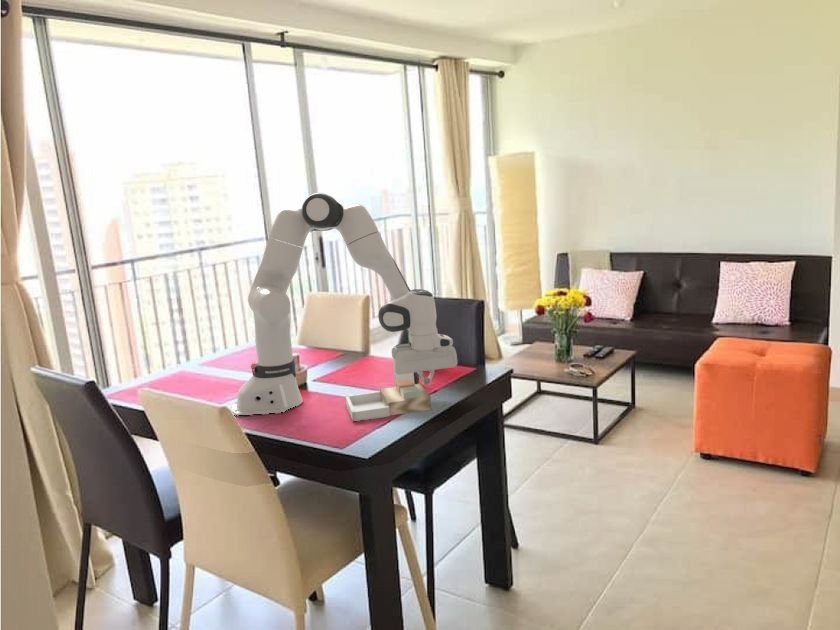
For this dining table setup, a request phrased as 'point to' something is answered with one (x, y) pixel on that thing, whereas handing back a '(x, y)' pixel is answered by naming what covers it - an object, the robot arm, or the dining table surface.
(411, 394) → the sage tile
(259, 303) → the robot arm
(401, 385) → the terracotta tile
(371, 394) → the grey box
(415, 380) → the medicine bottle
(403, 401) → the birch block
